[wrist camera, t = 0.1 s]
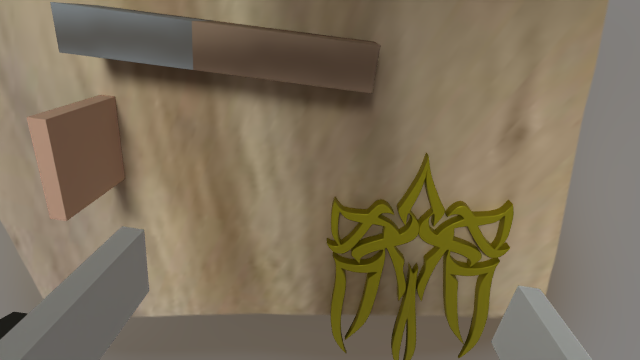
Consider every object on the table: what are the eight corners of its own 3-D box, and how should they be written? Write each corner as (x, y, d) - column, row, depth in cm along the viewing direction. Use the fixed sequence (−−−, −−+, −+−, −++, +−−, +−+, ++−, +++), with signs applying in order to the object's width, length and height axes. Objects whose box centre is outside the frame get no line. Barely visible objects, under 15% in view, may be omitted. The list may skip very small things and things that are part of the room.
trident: (534, 157, 38) (476, 378, 52) (526, 152, 39) (472, 368, 54) (326, 154, 39) (326, 371, 53) (327, 150, 40) (327, 362, 55)
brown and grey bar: (95, 5, 35) (50, 2, 30) (374, 41, 35) (380, 45, 29) (101, 47, 37) (59, 52, 31) (367, 82, 37) (372, 93, 31)
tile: (99, 94, 39) (25, 116, 30) (115, 96, 39) (45, 119, 30) (111, 176, 43) (49, 218, 34) (125, 178, 43) (66, 220, 34)
